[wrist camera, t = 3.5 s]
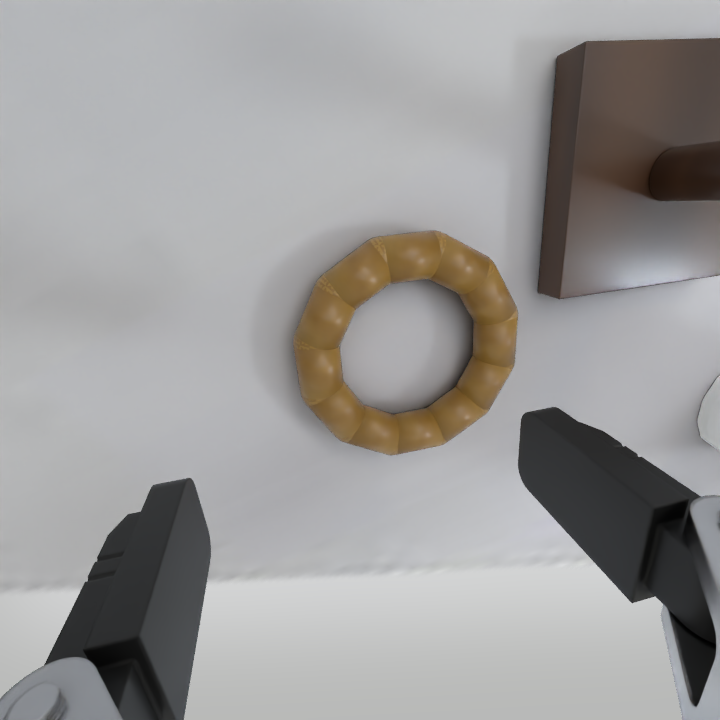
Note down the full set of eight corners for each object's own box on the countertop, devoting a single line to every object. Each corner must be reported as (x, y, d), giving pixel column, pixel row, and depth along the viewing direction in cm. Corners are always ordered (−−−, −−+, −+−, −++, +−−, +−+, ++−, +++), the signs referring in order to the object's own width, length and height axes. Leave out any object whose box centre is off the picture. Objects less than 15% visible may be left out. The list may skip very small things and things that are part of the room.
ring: (310, 456, 19) (314, 480, 17) (277, 245, 15) (279, 249, 14) (497, 418, 20) (517, 437, 19) (507, 220, 17) (533, 221, 15)
